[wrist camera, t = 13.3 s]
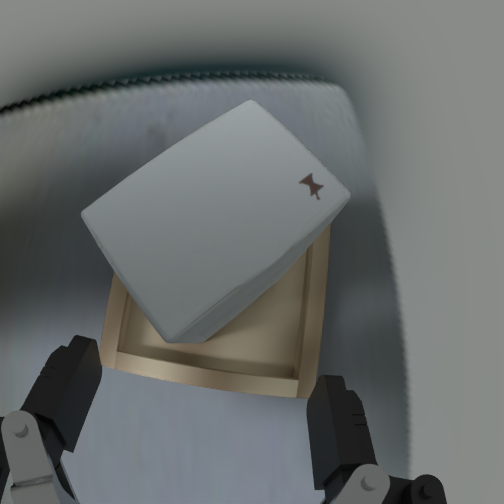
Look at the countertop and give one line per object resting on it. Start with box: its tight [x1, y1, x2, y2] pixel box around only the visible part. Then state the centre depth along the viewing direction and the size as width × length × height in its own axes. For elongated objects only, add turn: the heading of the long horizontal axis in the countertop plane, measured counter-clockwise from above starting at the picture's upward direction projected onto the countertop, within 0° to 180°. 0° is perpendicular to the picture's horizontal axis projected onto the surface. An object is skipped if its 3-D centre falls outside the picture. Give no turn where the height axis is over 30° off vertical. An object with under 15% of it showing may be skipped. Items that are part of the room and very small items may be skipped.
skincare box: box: [81, 99, 351, 343], centre depth 13 cm, size 6×4×12 cm
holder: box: [99, 223, 331, 399], centre depth 19 cm, size 12×12×2 cm
